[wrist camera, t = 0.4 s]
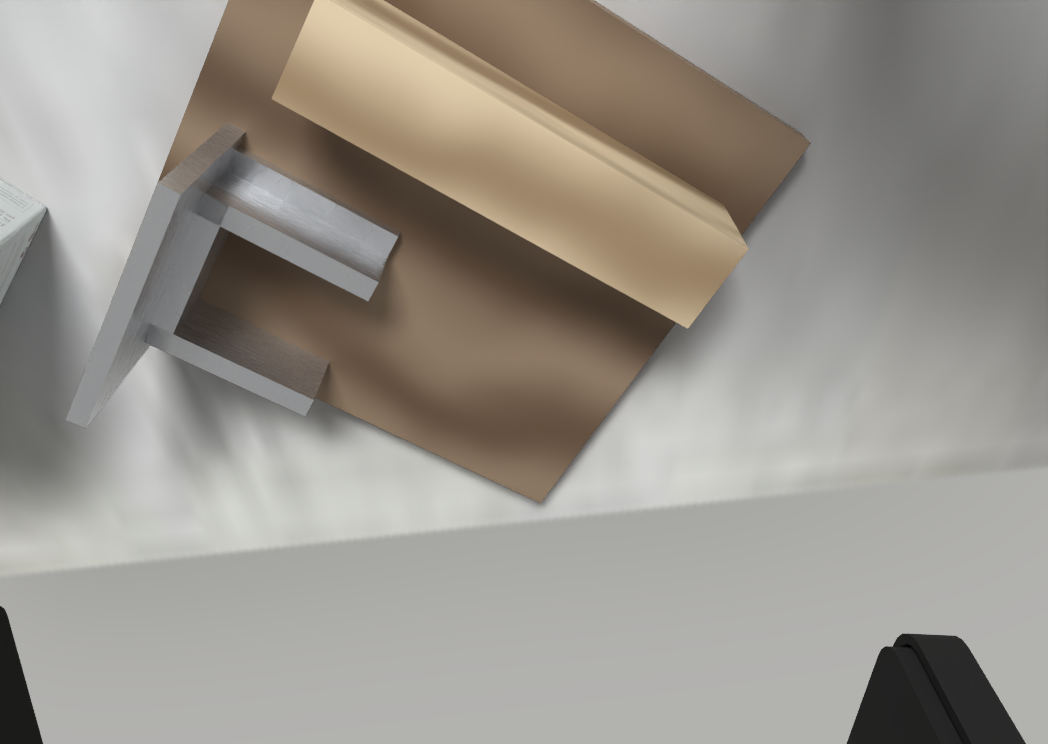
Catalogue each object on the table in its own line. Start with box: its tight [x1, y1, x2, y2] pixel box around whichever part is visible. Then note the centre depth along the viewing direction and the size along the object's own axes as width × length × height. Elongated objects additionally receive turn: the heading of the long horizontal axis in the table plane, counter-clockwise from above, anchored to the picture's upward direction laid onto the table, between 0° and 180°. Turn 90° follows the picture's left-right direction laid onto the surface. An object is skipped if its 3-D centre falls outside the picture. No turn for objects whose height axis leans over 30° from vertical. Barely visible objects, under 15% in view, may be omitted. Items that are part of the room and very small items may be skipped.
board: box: [111, 0, 810, 503], centre depth 40 cm, size 22×23×2 cm
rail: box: [272, 0, 749, 329], centre depth 35 cm, size 4×18×5 cm, turn 60°
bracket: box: [66, 122, 400, 429], centre depth 37 cm, size 11×8×8 cm
